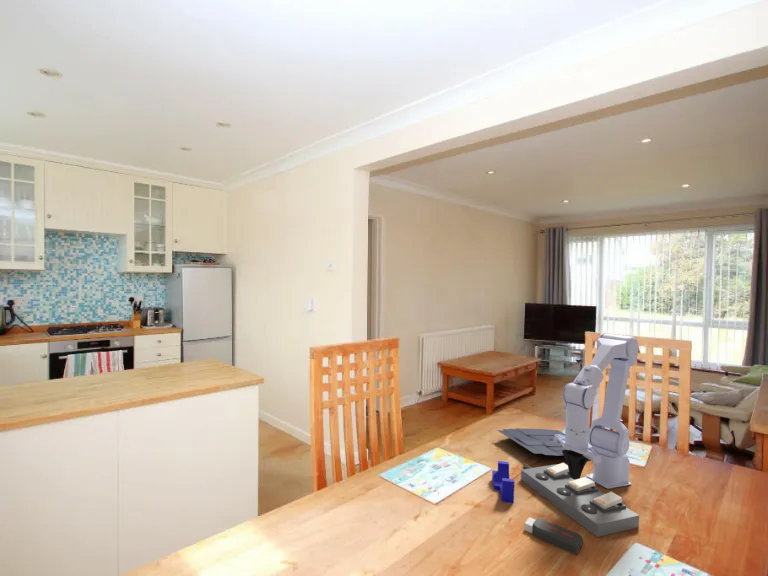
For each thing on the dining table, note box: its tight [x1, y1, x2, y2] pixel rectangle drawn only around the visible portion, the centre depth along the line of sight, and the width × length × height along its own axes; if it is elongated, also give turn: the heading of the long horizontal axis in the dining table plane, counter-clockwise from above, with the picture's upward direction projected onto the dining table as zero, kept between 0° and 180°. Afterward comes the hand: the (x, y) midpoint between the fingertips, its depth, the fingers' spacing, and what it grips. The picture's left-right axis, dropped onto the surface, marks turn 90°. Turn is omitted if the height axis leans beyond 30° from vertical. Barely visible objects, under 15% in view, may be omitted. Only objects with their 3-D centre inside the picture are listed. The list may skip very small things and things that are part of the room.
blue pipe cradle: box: [491, 460, 515, 504], centre depth 116 cm, size 12×4×6 cm, turn 170°
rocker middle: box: [569, 476, 596, 491], centre depth 112 cm, size 6×3×1 cm, turn 109°
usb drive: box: [523, 517, 584, 556], centre depth 95 cm, size 5×12×3 cm, turn 50°
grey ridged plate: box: [496, 427, 592, 457], centre depth 146 cm, size 24×30×4 cm
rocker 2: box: [593, 491, 623, 509], centre depth 104 cm, size 6×3×1 cm, turn 109°
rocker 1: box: [547, 462, 569, 477], centre depth 120 cm, size 6×3×1 cm, turn 109°
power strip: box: [520, 462, 640, 538], centre depth 114 cm, size 13×35×4 cm, turn 19°
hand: (575, 477), depth 111 cm, fingers closed
